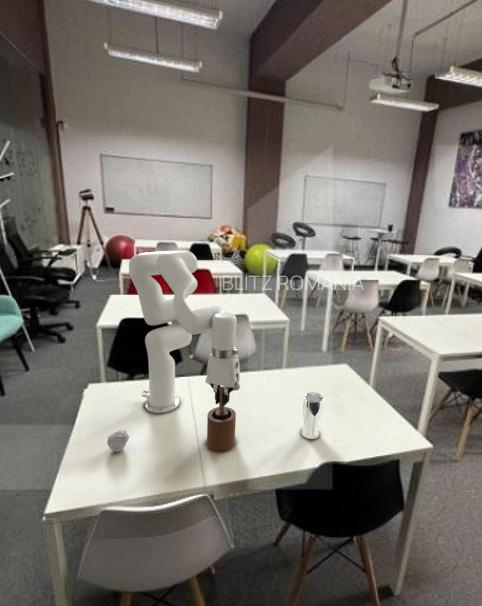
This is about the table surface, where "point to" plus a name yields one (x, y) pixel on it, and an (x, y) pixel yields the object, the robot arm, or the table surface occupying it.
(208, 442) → the cylindrical holder
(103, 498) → the table surface
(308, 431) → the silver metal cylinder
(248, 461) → the table surface
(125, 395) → the table surface
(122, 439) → the grey crumpled ball
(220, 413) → the brush
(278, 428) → the table surface
